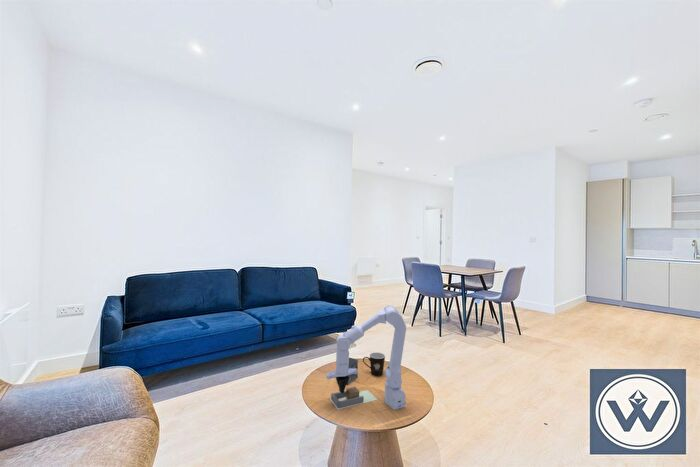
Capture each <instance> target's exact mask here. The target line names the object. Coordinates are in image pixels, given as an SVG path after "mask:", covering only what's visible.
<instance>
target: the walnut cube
mask: <svg viewBox="0 0 700 467" xmlns="http://www.w3.org/2000/svg"><path fill="white" fill-rule="evenodd" d="M345 391H346V398H347V399H351V398H355V397H359V392H360V390H359V389H358V388H357V387H356V386H351V387H348V388H346V387H345Z"/></svg>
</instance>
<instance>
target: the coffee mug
mask: <svg viewBox="0 0 700 467" xmlns="http://www.w3.org/2000/svg"><path fill="white" fill-rule="evenodd" d="M365 359H368V360H369V362H370V363H369V364H370V365H368V364H367V363H366V362H365ZM385 359H386V355H385V354H384V353H382V352H372V353H370V354H369V356H364V357H363V358H362V362H363V365H364V364H365V366H366V367H368V368H369V369H370V374H371V375H372V376H375V377H380V376H381V377H382V376H383V372H384V366H385Z"/></svg>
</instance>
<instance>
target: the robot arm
mask: <svg viewBox="0 0 700 467" xmlns="http://www.w3.org/2000/svg"><path fill="white" fill-rule="evenodd" d="M387 323H388V324H389V325H391V326H393V328H394V332H393V339H392V345H391V350H390V351H391V352H390V356H389V358H390V359H389V361H388V363H387V367H386V368H385V370H384V375H385V378H386V381H385V382H384V403H385V404H386V405H387V406H389V407H390V408H391V409H392V410H394V411H395V410H400V409H403V408H405V407H406V393H405V391H404V390H403V389H402V388H403V387H402V384H403V379H402V367H401V364H402V357H403V351H404V345H405V338H406V335H407V334H406V332H407V325H406V322H405V321H404V318H403V315H401V314H400V312H399V311H398V309H396V308H395V307H394V306H393V305H387V306H385V307H384V308H380V310H379V311H378V312H376V313H375V314H374V315H372V316H371V317H370V318H368V319H367V320H366V321H365V322H364V323H362V324H356V325H352V326H351V328H350V329H348V330H347V331H344V332H343V333H340V334H339V335H337V338H336V340H335V341H336V355H335V356H336V358H335V361H336V362H335V363H336V364H335V370H333V371H330V372H327V373H326V377H325V378H326V379H327V381H329V380H331V379H336V382H337V386H338V392H341V393H344V391H346V387H347V385H346V384H347V382H348V381H349V376H348V375H350V374H357V369H356V368H351V369H349V358H350V351H349V350H350V349H349V348H350V347H351V345H352V344H353V343H355V342H357V341H358V340H360V339H361V338H363V337H364V335H365V332H367V331H368V330H370V329H372V328H373V327H375V326H376V325H378V324H385V325H386V324H387Z"/></svg>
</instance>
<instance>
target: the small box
mask: <svg viewBox="0 0 700 467" xmlns="http://www.w3.org/2000/svg"><path fill="white" fill-rule="evenodd" d="M358 364H359V360H358V359H356V358H353V357H349V369H351V368H356V369H357V374H350V375H348V376H349V381H348V382H347V384H346V386H349V385H350V384H352V383H353V382H354V381H355V380H356V379H358V377H359V376H358V373H359V371H358V369H359V366H358Z"/></svg>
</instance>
